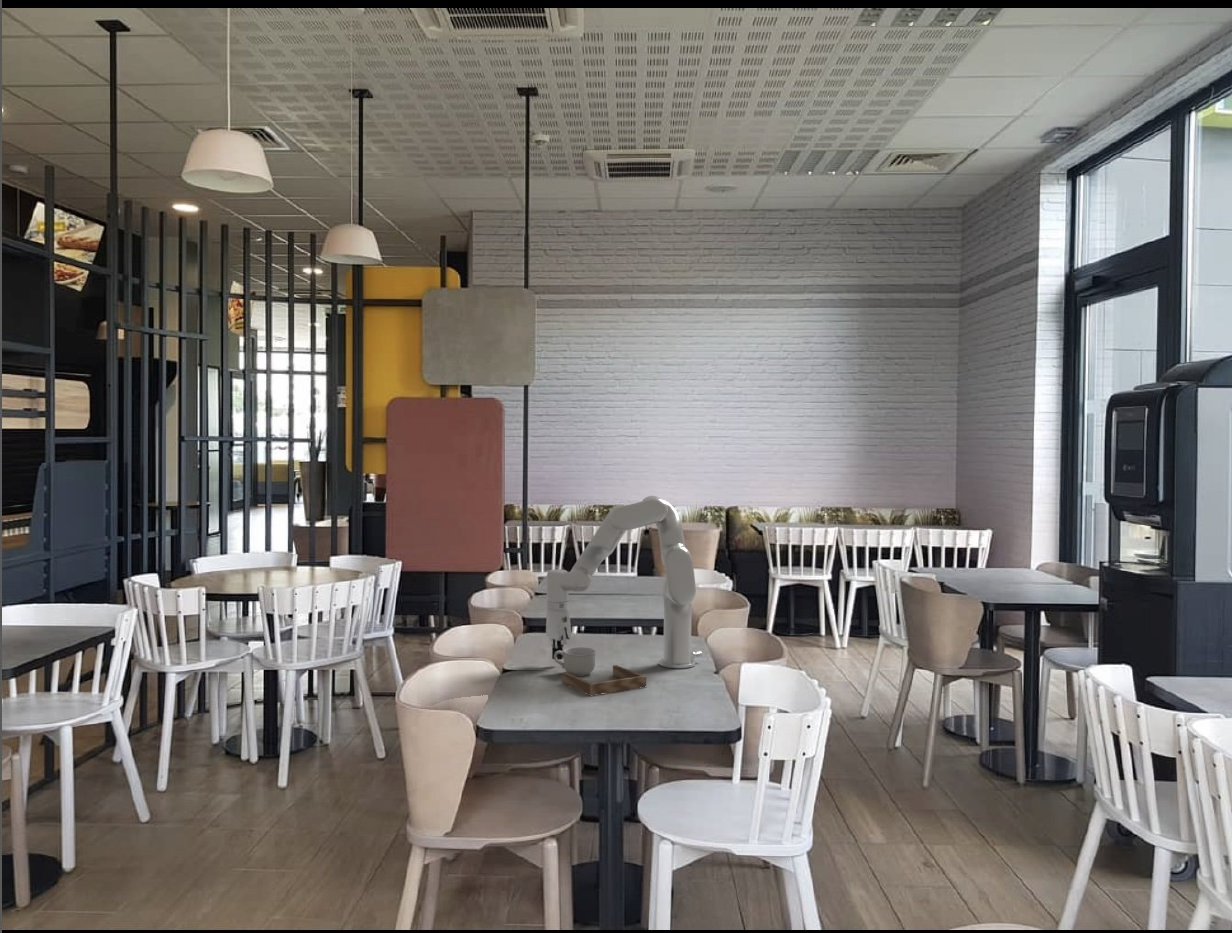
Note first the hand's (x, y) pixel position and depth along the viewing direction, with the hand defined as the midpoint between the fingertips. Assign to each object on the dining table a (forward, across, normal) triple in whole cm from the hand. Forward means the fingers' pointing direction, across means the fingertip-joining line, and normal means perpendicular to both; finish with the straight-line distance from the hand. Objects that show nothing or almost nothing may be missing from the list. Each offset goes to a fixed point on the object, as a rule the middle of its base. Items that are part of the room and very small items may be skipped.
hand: (557, 658), depth 334 cm
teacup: (+3, -12, 0) cm, 12 cm away
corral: (+3, -30, 0) cm, 30 cm away
